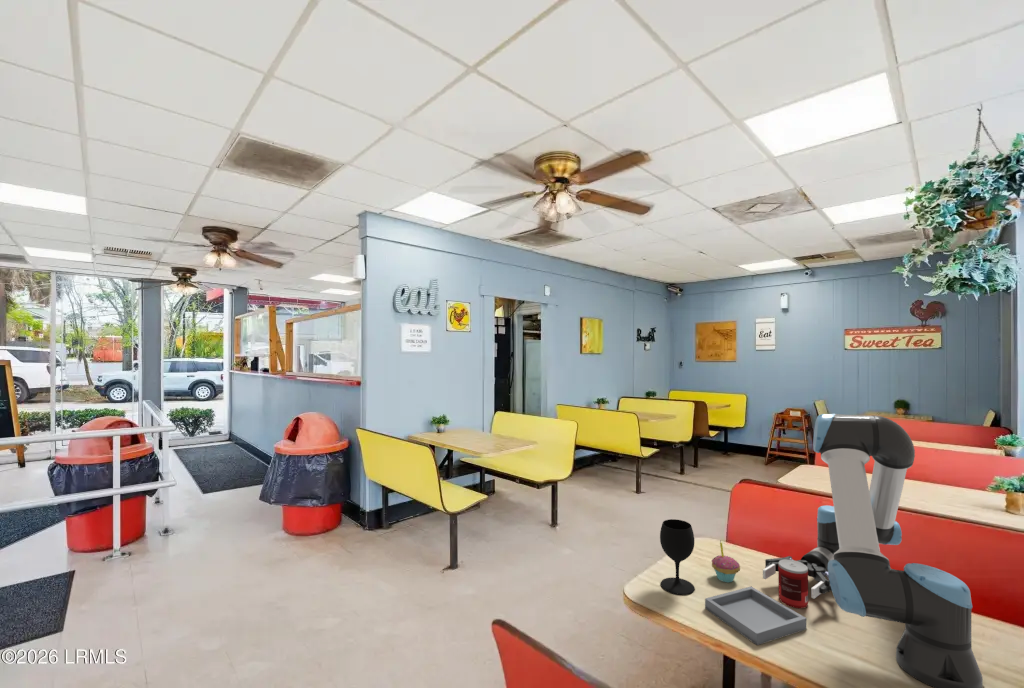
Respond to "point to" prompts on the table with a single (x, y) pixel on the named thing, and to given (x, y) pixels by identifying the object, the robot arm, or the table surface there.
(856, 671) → the table surface
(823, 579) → the robot arm
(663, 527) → the wine glass
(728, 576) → the cupcake
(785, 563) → the canned food
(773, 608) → the tray
